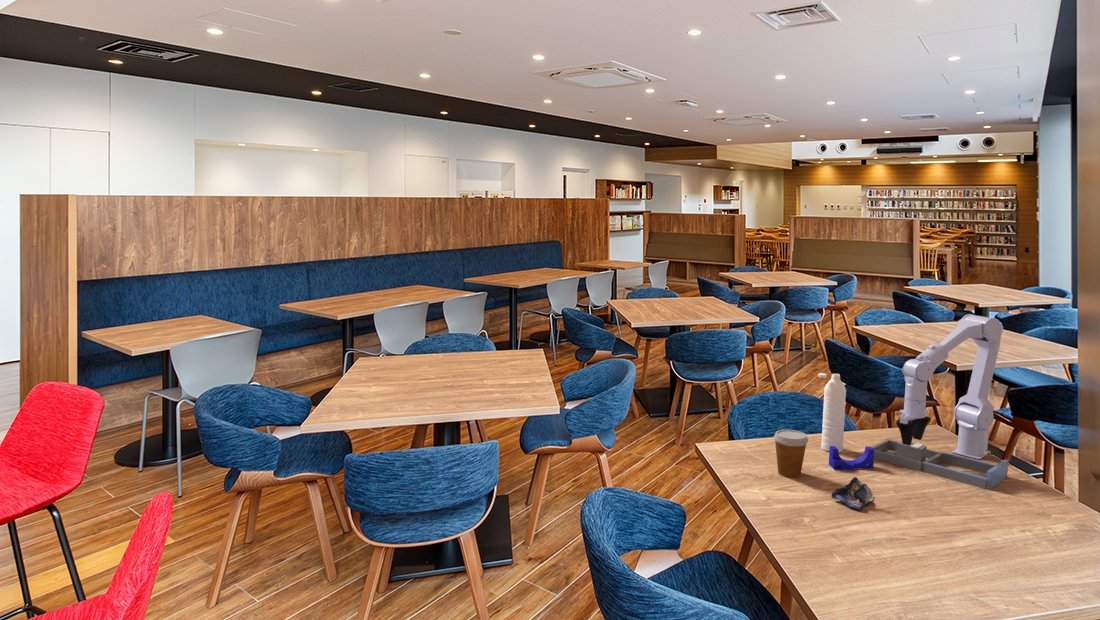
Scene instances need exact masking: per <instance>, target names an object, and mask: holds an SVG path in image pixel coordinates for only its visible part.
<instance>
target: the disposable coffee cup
mask: <svg viewBox="0 0 1100 620" xmlns="http://www.w3.org/2000/svg"><path fill="white" fill-rule="evenodd" d="M773 440H774V442H775V452H776V453H775V454H776V464H777V473H778V474H779V475H780V476H783V477H786V478H798V477H800V476H801V475H802V469H803V463H804V457H805V453H806V447H807V444H808V442H809V438H808V437H807V434H806V433H804V432H803V431H799V430H797V429H796V430H795V429H779V430H777V431H775V433H774V435H773Z"/></svg>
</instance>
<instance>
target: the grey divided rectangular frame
mask: <svg viewBox="0 0 1100 620" xmlns="http://www.w3.org/2000/svg"><path fill="white" fill-rule="evenodd" d="M899 442H900V441H897V440H893V439H888V438H887V439H884V440H883V441H880V442H878V443H876V444H874V445H871V447H872V448H873V449H874V460H879V461H883V462H887V463H890V464H893V465H897V466H901V467H905V468H908V469H912V470H915V471H919V472H923V473H926V474H931V475H934V476H938V477H941V478H943V479H944V478H946V479H949V480H952V481H955V482H959V483H962V484H966V485H970V486H974V487H977V486H978V487H977V488H981V489H985V490H991V489H992V488H994V487H996V486H997V485H998V484H999V483H1001V482H1002V481H1004V480H1005V479H1006V478H1008V470H1009V460H1008V459H1003V460H1001V461H1000V462H999V463H997V464H994V463H990V462H987V461H986V462H985V461H982V460H979V459H975V458H971V457H967V456H963V455H959V454H955V453H950V452H949V453H948V452H945V451H943V452H941V451H938V450H934V449H929V448H927V452H926V460H925V461H924V462H920V461H916V460H912V459H909V458H905V457H901V456H897V455H893V454H890V453H887V452H886V451H885V449H886V450H888V449H890V450H891V449H892V450H895V451H897V443H899ZM940 463H947V464H950V465H954V466H959V467H963V468H965V467H966V468H965V469H970V470H973V469H974V471H977V470H978V472H981V471H982V473H984V474H986V475H985V477H984V476H981V475H978V474H973V473H969V472H966V471H961V470H958V469H954V468H950V467H946V466H942V465H939V464H940ZM996 484H997V485H996Z"/></svg>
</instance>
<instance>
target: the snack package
mask: <svg viewBox="0 0 1100 620" xmlns="http://www.w3.org/2000/svg"><path fill="white" fill-rule="evenodd" d="M831 498H832V499H834V500H838V501H841V502H842V503H843V504H844V506H845V507H847V508H849V509H850V510H851V509H852V510H855V511H859V512H861V511H862V509H863V506H865V505H867V504H869V503H870V502H871V501H873V500H874V494H873V491H872V489H871V488H870V487H869V486H868V484H867V483H862V482H861V481H860V479H859V478H858V477H856V476H854V477H852V479H851V480H850V482H849V483H847V484H846V485H843V486H842V487H840V488H837V489H835V490H834V491H832V492H831ZM855 500H858V502H854V501H855Z"/></svg>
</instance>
